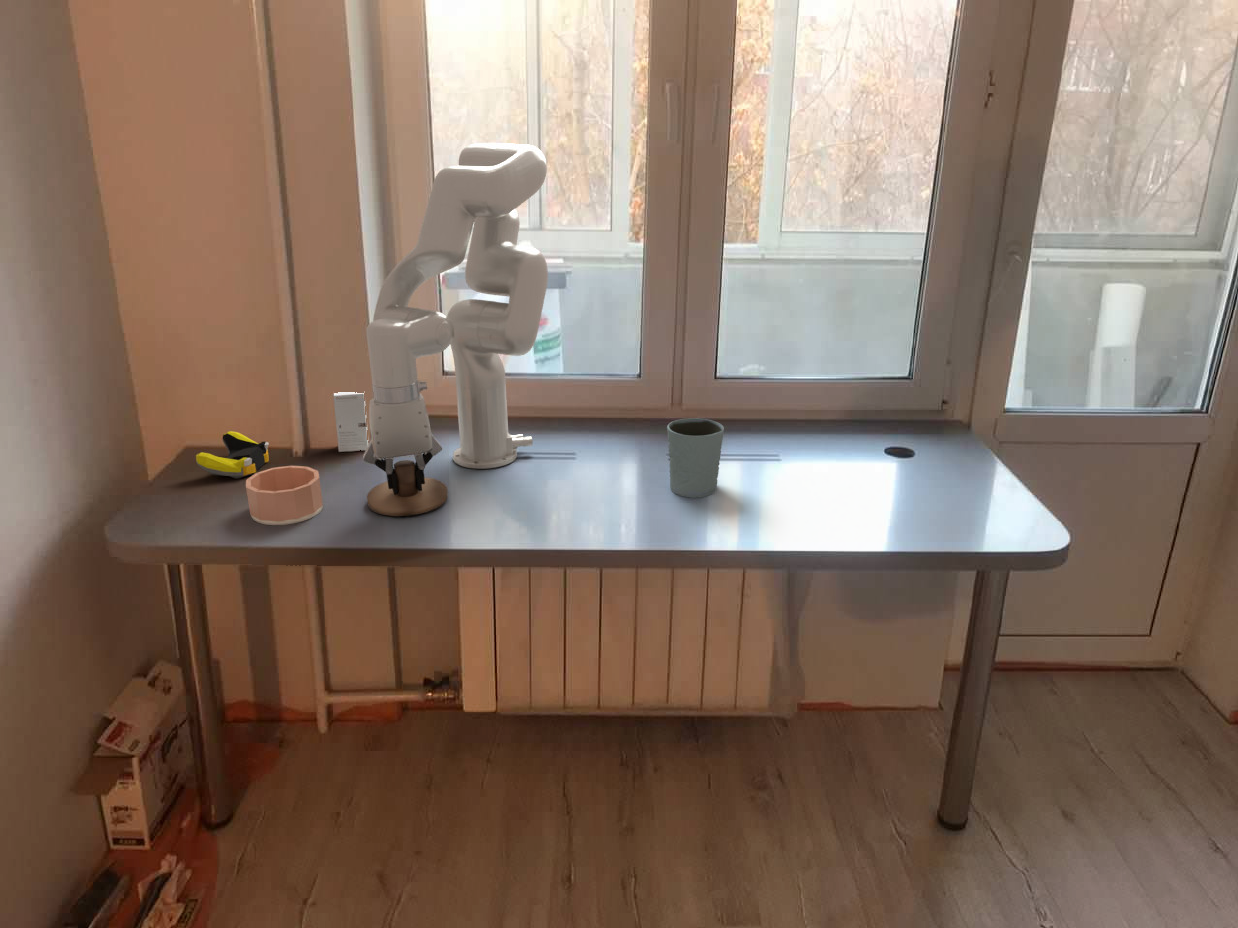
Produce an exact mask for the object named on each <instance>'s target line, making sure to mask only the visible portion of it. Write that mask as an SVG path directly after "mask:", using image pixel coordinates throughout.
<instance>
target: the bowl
mask: <svg viewBox="0 0 1238 928" xmlns="http://www.w3.org/2000/svg"><path fill="white" fill-rule="evenodd" d="M320 481H321V480H320V474H319V470H317V469H314V468H312V467H309V466H304V465H303V466H301V465H287V466H277V467H271V468H268V469H264V470H262V471H259V472H258V471H257V472H256V473H253V474H252V475H251V476H250V477H248V478H247V479H246V480H245V490H246V496H247V503H248V508H249V514H250V517H251V519H252V520H253V521H255V522H256V523H258V524H261V525H267V526H286V525H293V524H298V523H301V522H305V521H307V520H309V519H312V518H313V517H316V516H317V515H318V514H320V513H321V512H322V511H323V509H324V507H323V506H324V504H323V496H322V490H321V489H322V486H321V482H320Z"/></svg>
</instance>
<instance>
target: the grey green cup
mask: <svg viewBox="0 0 1238 928" xmlns="http://www.w3.org/2000/svg"><path fill="white" fill-rule="evenodd" d="M666 428H667V429H666V430H667V442H668V457H669V458H668V459H669V466H668V467H669V487H670V490H671V492H672V493H674V494H676V495H678V496H681V497H687V498H703V497H707V496H711V495H713V494H715V492H716V490H717V488H718V477H719V469H720V467H719V466H720V464H721V463H720V461H721V453H722V450H721V449H722V445H723V439H724V433H725V428H724V426H723V425H722V423H719V422H717V421H714V420H712V419H707V418H697V417H696V418H690V417H689V418H682V419H676V420H674V421H671V422H669V423H668V424H667V426H666Z"/></svg>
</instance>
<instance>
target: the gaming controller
mask: <svg viewBox="0 0 1238 928" xmlns="http://www.w3.org/2000/svg"><path fill="white" fill-rule="evenodd" d="M222 442H223V444H224V446H225V448H226V450H227V451H228V455H227V456H226V457H221V456H216V455H214V454H211V453H208V452H200V453H197V454H196V455H195V463H196V465H197V466H198V468H200V469H203V470H204V471H205V472H207V473H209V474H211V475H214V476H225V477H226V476H227V477H231V478H232V479H242V478H244V477H246V476H249V475H253V474H255V473H257V472H258V470H259V469H261V468H262V467H263V466H264V465H265V464H266V463H269V461H270V459H269V450H268V447H269V444H270V442H267V441H261V442H256V441H255V440H252V439H251V438H249V437H248V436H246V435H244V434H242V433H240V432H239V431H238V432H237V431H232V430H231V431H227V432H225V433H224V434H222Z"/></svg>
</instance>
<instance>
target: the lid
mask: <svg viewBox="0 0 1238 928" xmlns="http://www.w3.org/2000/svg"><path fill="white" fill-rule="evenodd" d="M415 463H416V462H414V460H410V459H405V460H398V461H396V462H395V463H393V468H394V471H395V473H396V479H397V487H398V494H397V495H394V493H393V490H392V489H389V488H388V481H387V480H386V481H384V482H382V483H378V485H376V486H374V487H373V488H371V489H370V490H369V491H368V493H367V495H366V501H367V506H368V507H369V509H370V510H371V511H372V512H374V513H377V514H379V515H384V516H390V517H409V516H415V515H420V514H425V513H427V512H431V511H433V510H436V509H438V508H439V507H441V506H442V505H444V504H445V502H446V501H447V500H448V493H449V492H448V487H447V485H446V483H444V482H442V481H441V480H439V479H436V478H432V477H426V476H424V479H425V484H422V491H419V490H418V489H417V482H416V472H415Z"/></svg>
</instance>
